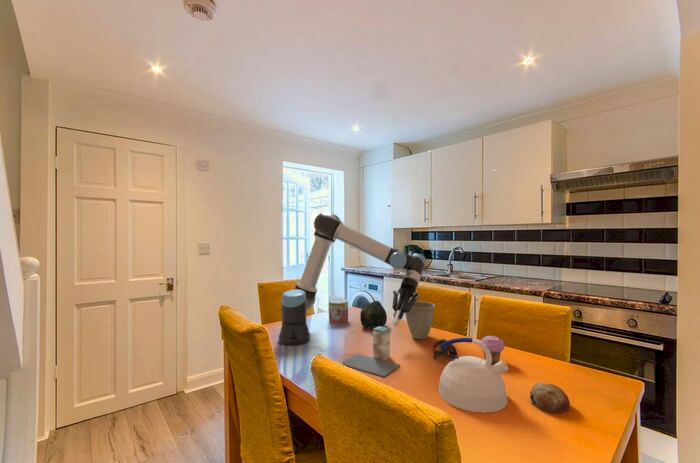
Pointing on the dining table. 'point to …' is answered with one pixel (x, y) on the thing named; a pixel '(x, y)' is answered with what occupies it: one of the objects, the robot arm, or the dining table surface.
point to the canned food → (338, 311)
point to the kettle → (473, 381)
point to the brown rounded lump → (549, 398)
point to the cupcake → (493, 347)
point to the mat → (371, 365)
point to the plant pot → (420, 319)
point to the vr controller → (444, 349)
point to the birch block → (381, 343)
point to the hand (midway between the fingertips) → (395, 324)
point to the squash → (373, 315)
